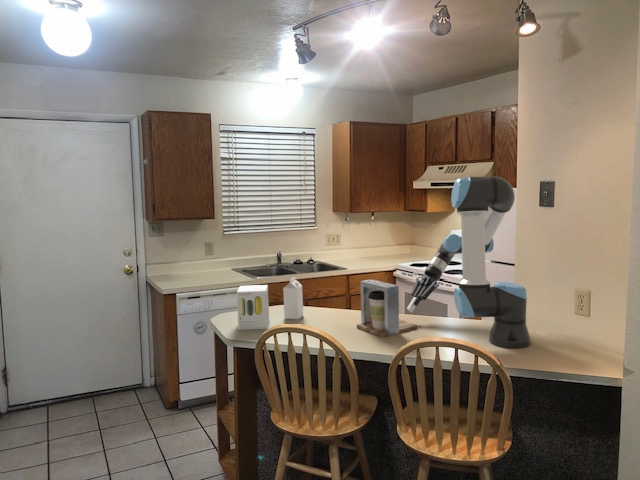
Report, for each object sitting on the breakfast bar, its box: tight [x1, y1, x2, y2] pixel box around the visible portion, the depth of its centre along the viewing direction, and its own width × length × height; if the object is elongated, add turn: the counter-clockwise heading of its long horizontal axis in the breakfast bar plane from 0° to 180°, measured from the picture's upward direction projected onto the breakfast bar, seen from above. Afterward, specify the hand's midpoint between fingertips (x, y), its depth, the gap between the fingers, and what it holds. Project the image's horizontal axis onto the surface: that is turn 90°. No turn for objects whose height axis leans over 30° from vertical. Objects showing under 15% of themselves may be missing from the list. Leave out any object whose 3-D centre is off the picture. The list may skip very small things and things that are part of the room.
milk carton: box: [282, 276, 304, 320], centre depth 242 cm, size 7×7×19 cm
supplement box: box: [236, 284, 270, 331], centre depth 231 cm, size 13×13×18 cm
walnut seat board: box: [356, 318, 418, 338], centre depth 222 cm, size 17×20×2 cm
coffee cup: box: [368, 290, 385, 329], centre depth 218 cm, size 10×10×15 cm
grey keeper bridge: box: [360, 278, 400, 337], centre depth 218 cm, size 18×6×20 cm, turn 33°
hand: (409, 310), depth 228 cm, fingers closed
